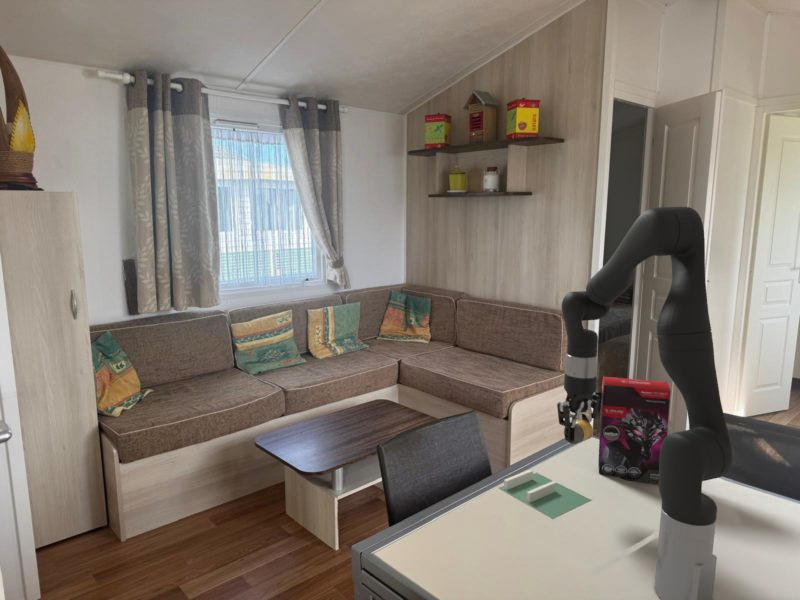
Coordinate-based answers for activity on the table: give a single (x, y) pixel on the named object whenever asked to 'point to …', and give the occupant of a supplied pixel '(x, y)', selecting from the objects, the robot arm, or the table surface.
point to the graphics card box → (632, 428)
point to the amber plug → (582, 431)
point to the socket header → (531, 494)
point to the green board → (548, 497)
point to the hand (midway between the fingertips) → (576, 438)
